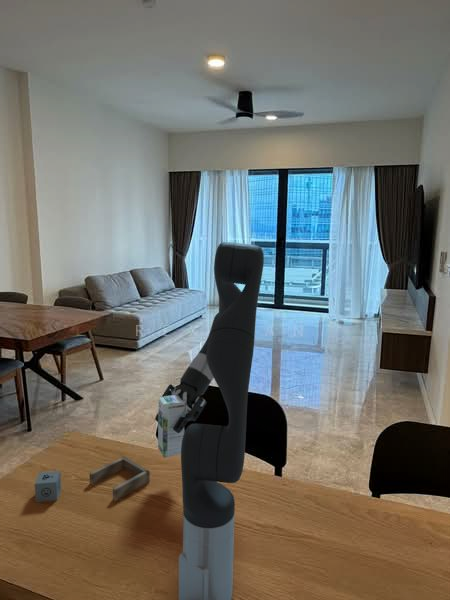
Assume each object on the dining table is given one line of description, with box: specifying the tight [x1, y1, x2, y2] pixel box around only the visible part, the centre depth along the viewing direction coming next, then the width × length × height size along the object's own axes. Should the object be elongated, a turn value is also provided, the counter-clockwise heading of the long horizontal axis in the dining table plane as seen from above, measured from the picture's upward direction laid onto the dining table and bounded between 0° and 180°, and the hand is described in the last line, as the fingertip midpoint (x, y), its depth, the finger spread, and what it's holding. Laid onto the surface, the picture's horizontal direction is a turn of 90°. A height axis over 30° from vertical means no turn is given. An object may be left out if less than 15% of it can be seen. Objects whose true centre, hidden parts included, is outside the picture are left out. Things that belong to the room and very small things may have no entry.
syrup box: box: [157, 395, 185, 459], centre depth 113 cm, size 6×6×14 cm
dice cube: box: [34, 470, 62, 503], centre depth 108 cm, size 5×5×5 cm
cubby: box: [89, 456, 151, 502], centre depth 114 cm, size 11×11×3 cm
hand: (166, 426), depth 112 cm, fingers closed on syrup box, 7 cm apart
